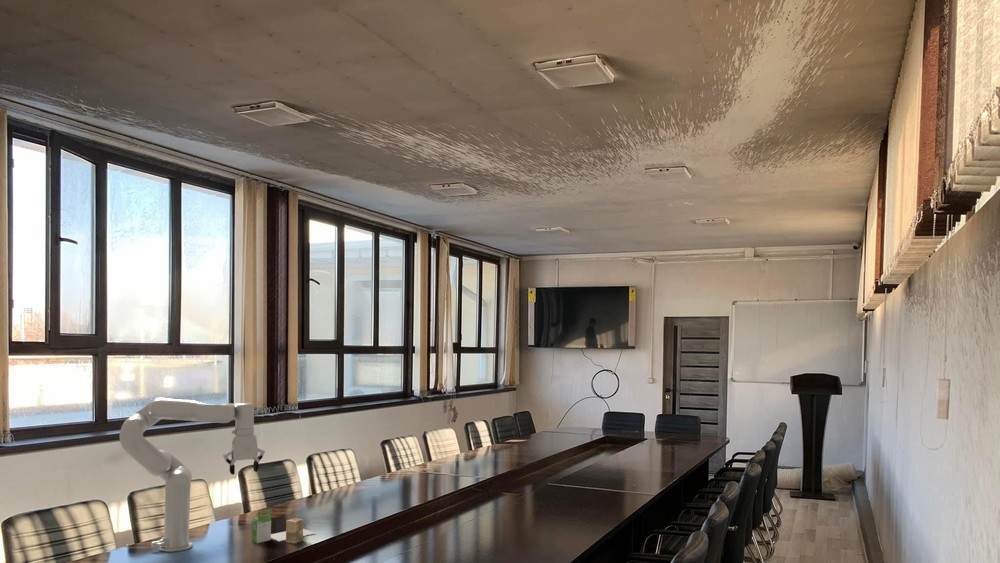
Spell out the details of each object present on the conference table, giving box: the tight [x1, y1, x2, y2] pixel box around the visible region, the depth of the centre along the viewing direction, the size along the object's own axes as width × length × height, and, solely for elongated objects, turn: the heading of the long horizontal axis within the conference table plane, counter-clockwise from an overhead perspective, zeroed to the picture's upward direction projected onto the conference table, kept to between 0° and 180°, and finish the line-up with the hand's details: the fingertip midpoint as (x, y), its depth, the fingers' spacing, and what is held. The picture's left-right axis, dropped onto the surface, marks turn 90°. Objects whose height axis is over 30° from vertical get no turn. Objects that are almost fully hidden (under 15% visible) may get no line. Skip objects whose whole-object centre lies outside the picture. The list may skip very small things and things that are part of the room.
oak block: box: [285, 517, 304, 544], centre depth 320 cm, size 5×5×9 cm
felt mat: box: [271, 528, 316, 543], centre depth 329 cm, size 18×12×1 cm, turn 135°
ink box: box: [251, 508, 272, 544], centre depth 320 cm, size 7×4×13 cm, turn 141°
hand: (244, 472), depth 319 cm, fingers open, 9 cm apart
